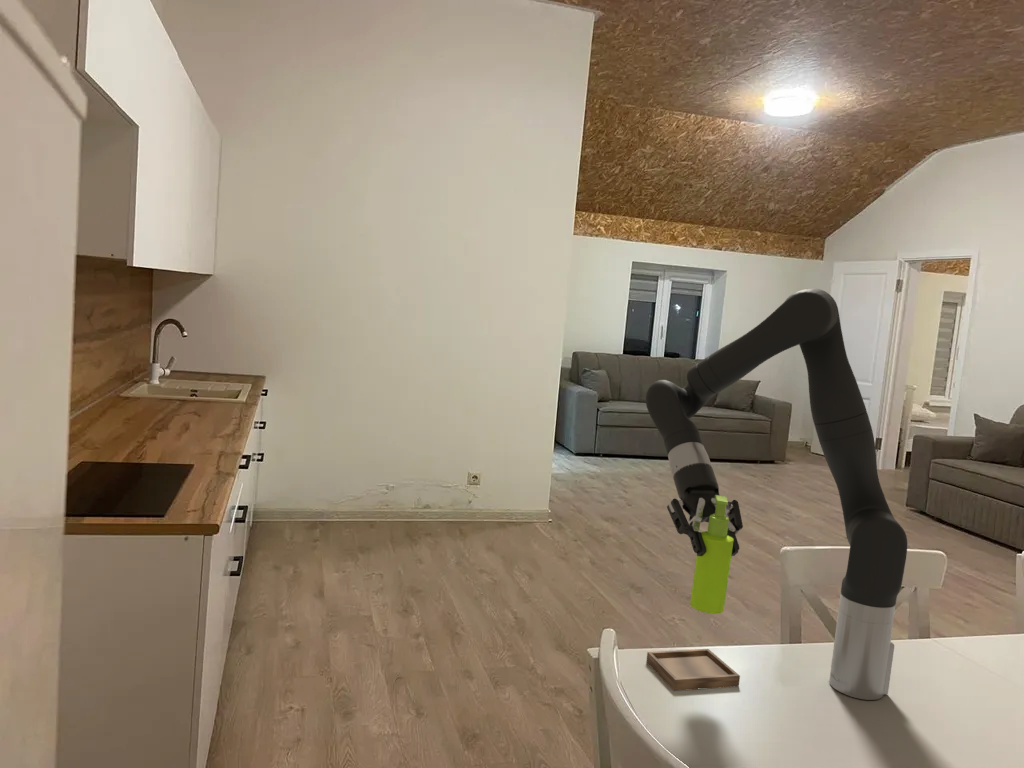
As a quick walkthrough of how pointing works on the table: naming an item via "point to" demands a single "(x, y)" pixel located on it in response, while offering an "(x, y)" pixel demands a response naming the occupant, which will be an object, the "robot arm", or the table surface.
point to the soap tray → (692, 669)
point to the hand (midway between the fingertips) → (718, 553)
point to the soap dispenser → (713, 563)
